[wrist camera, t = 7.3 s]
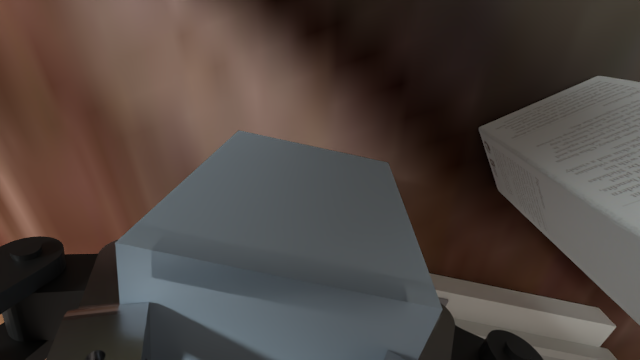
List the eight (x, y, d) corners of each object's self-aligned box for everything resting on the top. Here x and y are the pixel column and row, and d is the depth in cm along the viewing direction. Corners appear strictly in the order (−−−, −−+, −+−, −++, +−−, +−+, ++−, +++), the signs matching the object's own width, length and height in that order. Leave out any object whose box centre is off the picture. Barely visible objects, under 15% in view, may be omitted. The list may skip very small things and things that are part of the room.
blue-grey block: (226, 252, 14) (130, 433, 8) (238, 130, 12) (115, 242, 5) (351, 278, 14) (360, 477, 8) (388, 162, 12) (442, 309, 5)
